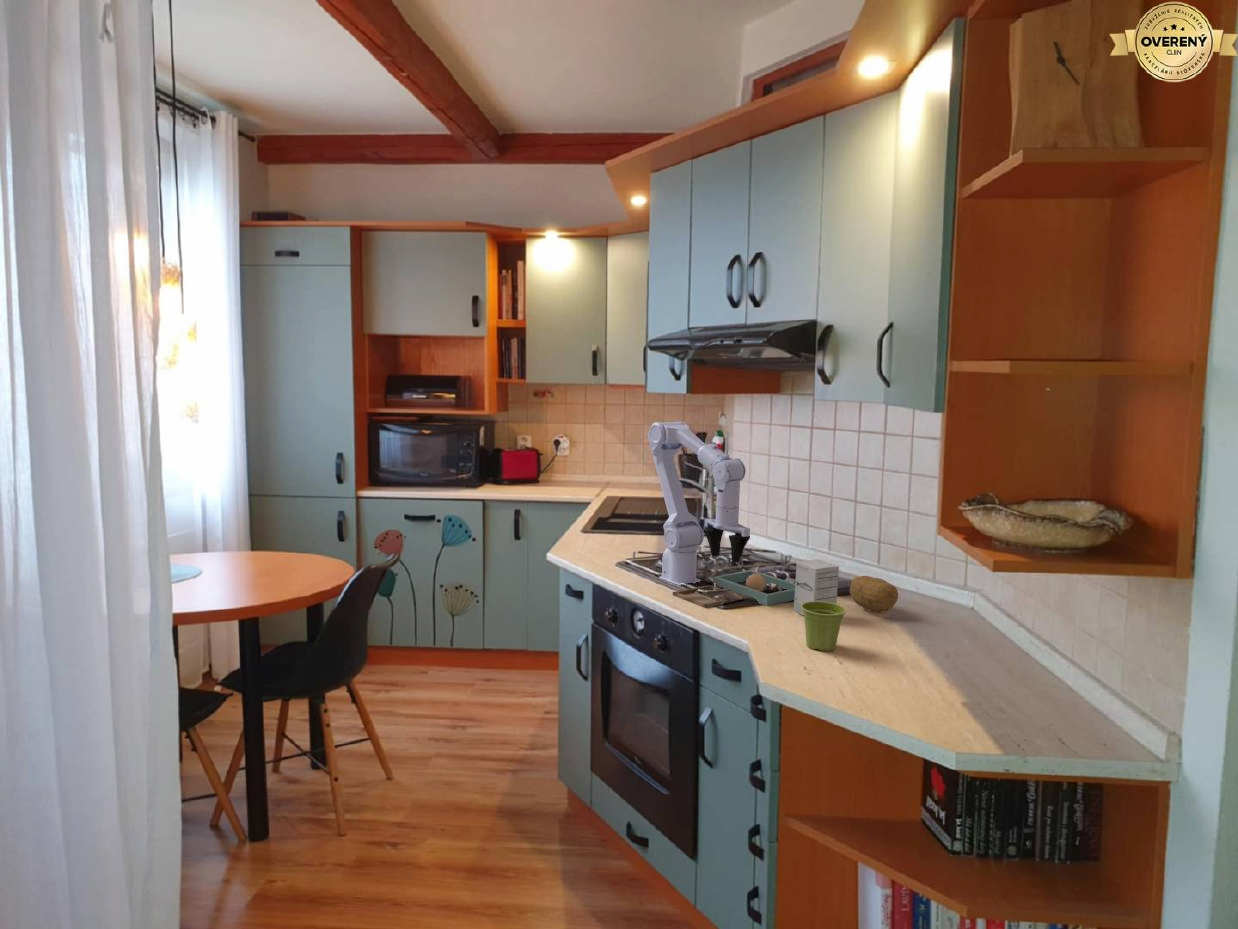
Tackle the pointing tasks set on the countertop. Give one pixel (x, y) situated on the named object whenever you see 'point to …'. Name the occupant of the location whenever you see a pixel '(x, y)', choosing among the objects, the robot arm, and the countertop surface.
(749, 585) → the ball
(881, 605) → the potato
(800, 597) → the supplement box
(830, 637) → the plant pot
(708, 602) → the wooden trivet
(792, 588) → the tray
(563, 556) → the countertop surface
